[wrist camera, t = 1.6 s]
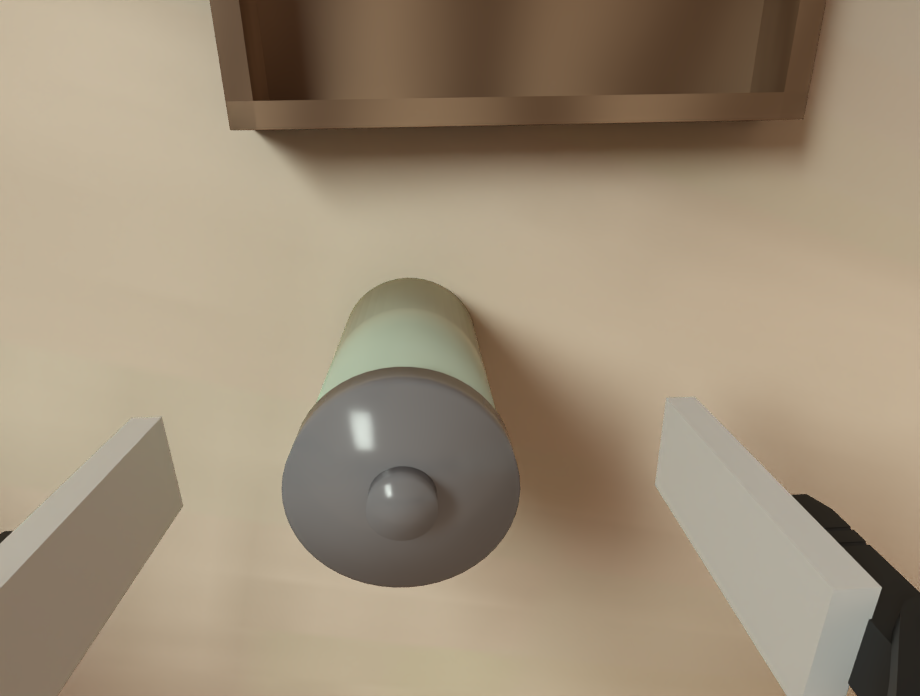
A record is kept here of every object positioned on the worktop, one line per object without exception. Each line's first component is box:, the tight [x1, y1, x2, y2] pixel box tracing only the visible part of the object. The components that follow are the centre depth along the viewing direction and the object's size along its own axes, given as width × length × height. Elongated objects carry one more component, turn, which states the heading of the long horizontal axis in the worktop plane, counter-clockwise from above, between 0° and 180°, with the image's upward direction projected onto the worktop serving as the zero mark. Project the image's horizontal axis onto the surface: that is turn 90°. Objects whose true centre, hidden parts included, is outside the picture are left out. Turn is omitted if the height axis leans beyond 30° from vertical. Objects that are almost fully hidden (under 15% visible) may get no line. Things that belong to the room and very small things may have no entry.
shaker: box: [282, 278, 520, 587], centre depth 17 cm, size 6×6×11 cm
